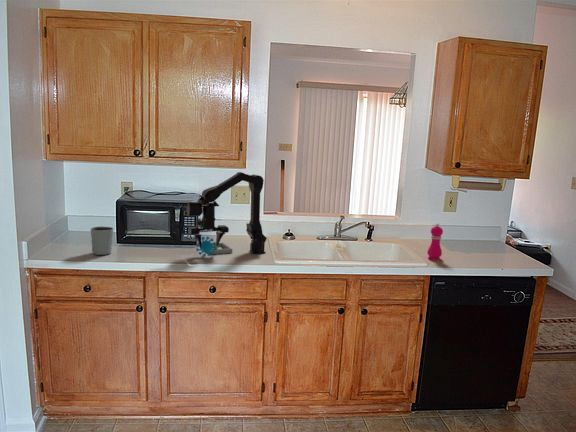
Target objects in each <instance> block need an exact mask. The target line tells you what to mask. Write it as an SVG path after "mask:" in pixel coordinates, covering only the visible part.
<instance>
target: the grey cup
mask: <svg viewBox="0 0 576 432" xmlns="http://www.w3.org/2000/svg"><path fill="white" fill-rule="evenodd" d="M113 235H114V227H110V226H94V227H91V228H90V236H91V252H92V254H93V255H97V256H98V255H99V256H102V255H104V256H105V255H110V254H111V253H112V249H113V248H112V246H113Z"/></svg>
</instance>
